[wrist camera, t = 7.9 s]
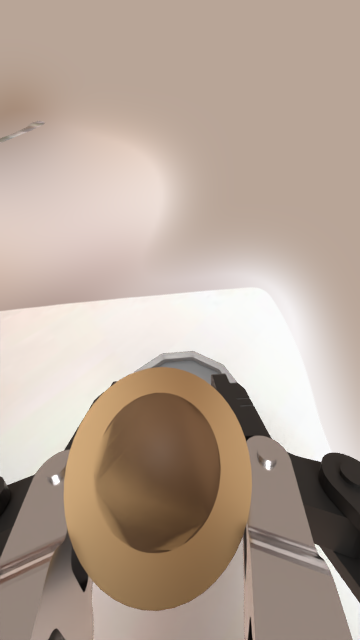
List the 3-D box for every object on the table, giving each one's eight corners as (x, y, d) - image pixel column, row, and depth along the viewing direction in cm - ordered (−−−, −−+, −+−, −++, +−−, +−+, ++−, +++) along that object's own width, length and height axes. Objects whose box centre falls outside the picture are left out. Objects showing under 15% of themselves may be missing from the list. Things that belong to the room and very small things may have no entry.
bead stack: (145, 470, 11) (37, 618, 3) (146, 395, 13) (83, 373, 5) (214, 465, 11) (278, 602, 3) (204, 391, 13) (230, 361, 5)
